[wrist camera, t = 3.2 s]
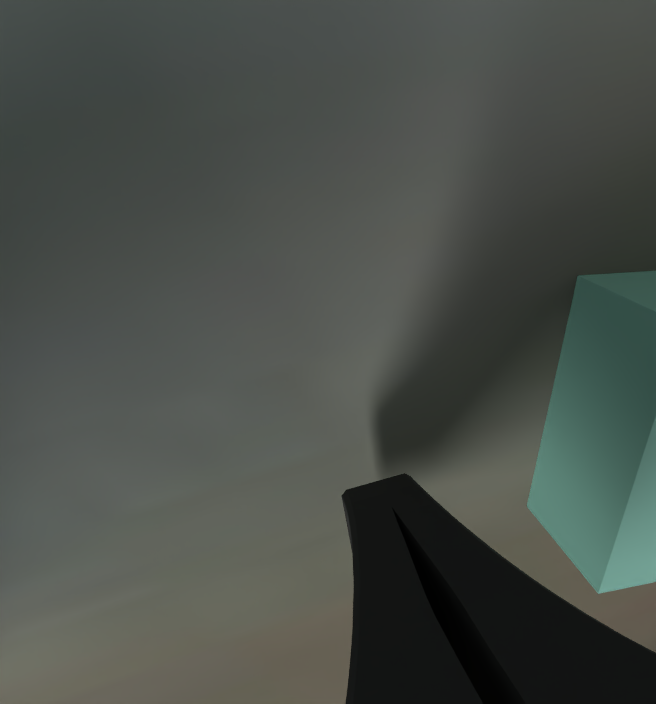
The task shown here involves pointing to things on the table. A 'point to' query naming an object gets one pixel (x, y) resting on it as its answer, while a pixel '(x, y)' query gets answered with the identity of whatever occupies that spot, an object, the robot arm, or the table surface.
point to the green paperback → (603, 434)
